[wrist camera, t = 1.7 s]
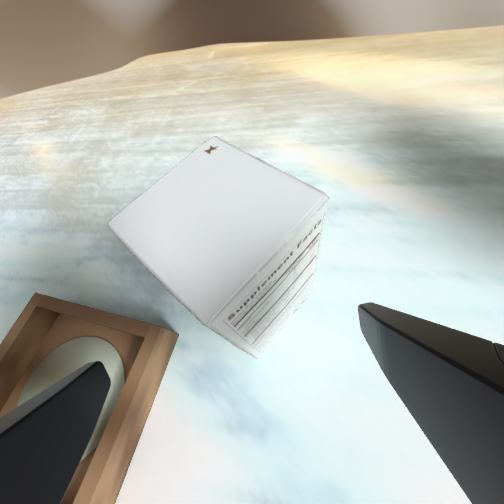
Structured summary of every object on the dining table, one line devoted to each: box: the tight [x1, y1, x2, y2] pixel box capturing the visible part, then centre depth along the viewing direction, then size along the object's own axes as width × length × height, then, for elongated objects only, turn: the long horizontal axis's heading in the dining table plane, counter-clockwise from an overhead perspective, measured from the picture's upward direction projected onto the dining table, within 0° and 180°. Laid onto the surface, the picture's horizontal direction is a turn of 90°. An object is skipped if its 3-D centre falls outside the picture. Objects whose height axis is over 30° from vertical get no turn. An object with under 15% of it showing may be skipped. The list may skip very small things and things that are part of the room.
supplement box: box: [108, 136, 329, 359], centre depth 16 cm, size 7×7×13 cm
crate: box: [0, 293, 179, 504], centre depth 19 cm, size 13×13×3 cm
